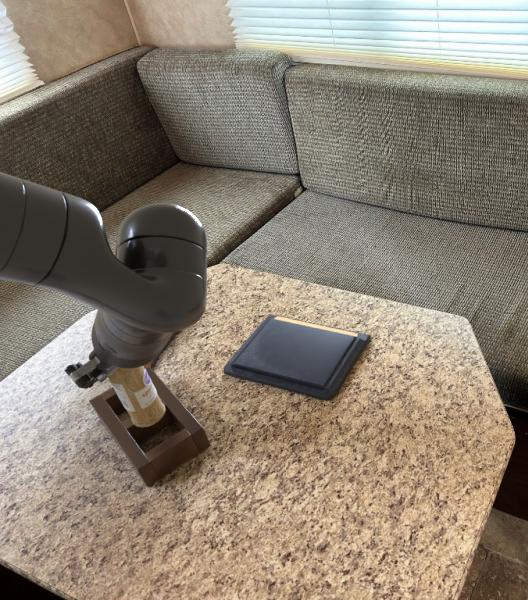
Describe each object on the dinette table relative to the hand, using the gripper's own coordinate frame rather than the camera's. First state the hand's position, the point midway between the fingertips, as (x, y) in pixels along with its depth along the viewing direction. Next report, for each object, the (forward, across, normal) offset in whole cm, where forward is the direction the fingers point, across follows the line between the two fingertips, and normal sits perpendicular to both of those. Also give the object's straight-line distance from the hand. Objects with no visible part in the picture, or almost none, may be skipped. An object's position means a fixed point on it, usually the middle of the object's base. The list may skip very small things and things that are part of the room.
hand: (115, 362), depth 77 cm
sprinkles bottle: (+5, 0, +8) cm, 9 cm away
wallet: (+8, -24, +15) cm, 29 cm away
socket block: (+13, -1, +10) cm, 16 cm away
